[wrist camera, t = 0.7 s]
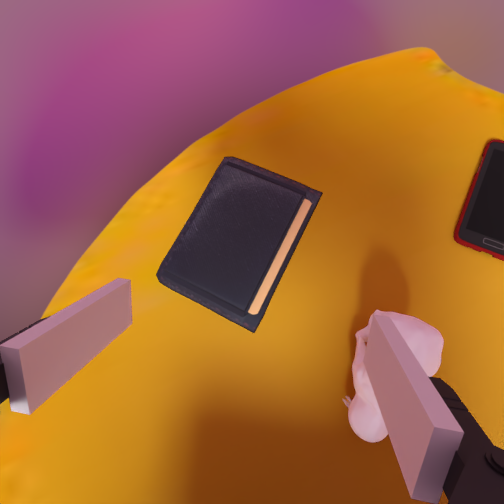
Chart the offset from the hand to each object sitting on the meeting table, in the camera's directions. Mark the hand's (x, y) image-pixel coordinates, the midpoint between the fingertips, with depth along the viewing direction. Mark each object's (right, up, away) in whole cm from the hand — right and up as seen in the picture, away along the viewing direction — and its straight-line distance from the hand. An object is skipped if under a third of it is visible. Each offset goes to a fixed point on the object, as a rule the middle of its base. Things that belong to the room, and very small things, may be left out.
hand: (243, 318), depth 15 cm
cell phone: (+30, +10, +18) cm, 37 cm away
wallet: (-1, +5, +22) cm, 22 cm away
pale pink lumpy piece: (+13, -9, +15) cm, 22 cm away
